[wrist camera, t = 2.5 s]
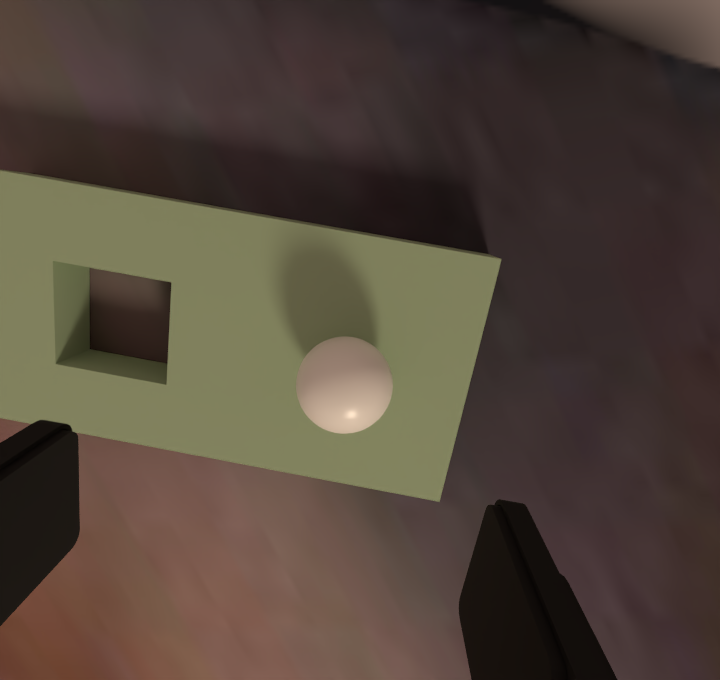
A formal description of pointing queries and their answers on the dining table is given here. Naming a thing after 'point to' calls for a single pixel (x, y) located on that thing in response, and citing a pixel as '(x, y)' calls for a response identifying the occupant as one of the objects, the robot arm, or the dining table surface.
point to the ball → (344, 385)
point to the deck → (236, 330)
